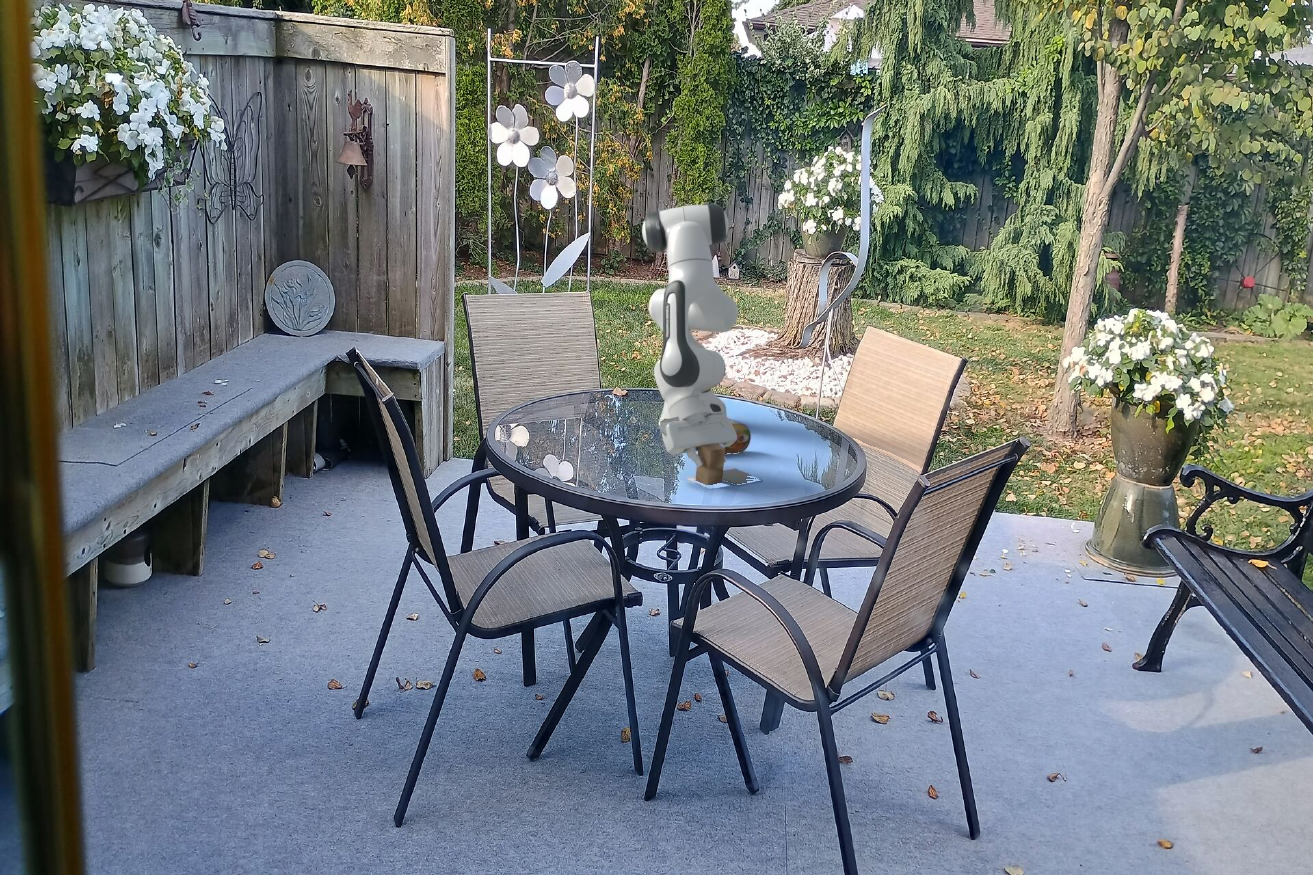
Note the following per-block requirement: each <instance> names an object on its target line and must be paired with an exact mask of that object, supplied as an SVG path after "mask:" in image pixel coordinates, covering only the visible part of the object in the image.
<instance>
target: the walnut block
mask: <svg viewBox="0 0 1313 875" xmlns="http://www.w3.org/2000/svg"><path fill="white" fill-rule="evenodd" d="M697 455H698V456H699V457H700V458H703V459H704V462H705V465H704V466H703V467H697V466H696V469H695V470H696V471H695V477H696V480H695V481H698V482H700V483H703V484H705V485H713V484H717V483H722V482H723V480H722V478H723V470H724V465H725V463H724V457H725V458H726V456H725V448H723V447H721V446H718V445H716V444H711V445H705V446H700V447H698V451H697Z"/></svg>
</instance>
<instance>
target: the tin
mask: <svg viewBox="0 0 1313 875" xmlns="http://www.w3.org/2000/svg"><path fill="white" fill-rule="evenodd" d="M731 424H732V425H733V427H734V430H735V432H736V434H737V440H736V441H735V442H734V443H733V444H732V445H731V446H729V447H725V454H727V453H738V452H742V453H743V452H745V451H746V450H747V449H748V447H749V446H750V443H751V438H752V437H751V436H752V435H751V431H750V429H749V427H748V425H747V426H746V424H743V423H740V422H735V421H733V422H732V423H731Z"/></svg>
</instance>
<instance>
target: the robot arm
mask: <svg viewBox="0 0 1313 875" xmlns="http://www.w3.org/2000/svg"><path fill="white" fill-rule="evenodd" d="M729 226H730V225H729V219H728V216H727V214H726V212H725V210H724V208H723V207H722V206H721V205H720V204H715V203H707V204H693V205H692V204H691V205H689V204H688V205H682V206H678V207H672V208H668V209H663V210H655V211H652V212H649V213H647V214H646V216H645V217H644V221H643V222H642V227H641V233H642V235H641V236H642V238H643V241H644V243H645V245H646V246H647V248H648V249H649V250H650V251H652V252H656V253H663V252H666V260H667V261H666V262H667V269H668V282H667V283H668V284H667V286H666V287H665V288H658V289H656V290H655V291H654V292H652V293H653V294H652V295H651V297H650V299H649V302H648V313H649V317H651V319H652V321H653V322H654V323H656V325H657V326H658V327H659V328H660V330H661V331H662V349H661V352H660V353H661V355H660V357H659V358H660V359H659V360H658V361H657V362H656V363H655V365H654V368H653V374H654V380H655V383H656V385H657V386H656V387H657V388H658V390H659V393H660V395H661V398H662V400H664V402H663V408H662V411H661V414H660V417H659V420H658V428H659V430H660V433H661V435H662V436H661V437H662V440H663V443H664V447H665V450H666V451H667V453H668V454H670V455H671V456H673V455H675V456H676V455H682V454H686V455H687V457H688V459H690V460H691V461H692V462H694V464H695V467H696V468H697V467H703V466H704V465H705V462H704V459H703V458H700V457H699V456H698V453H696V452H698V447H700V446H705V445H711V444H716V445H718V446H721V447H723V448H725V447H729V446H731V445H732V444H733V443H734V442H735V441H736V440H737V434H736V432H735V430H734V427H733V425H732V424H731V423H732V422H734V421H733V420H732V419H731V418H729V417H728V416H727V415H728V414H727V407H726V404H725V402H724V401H723V400H722V399H721V398H720V397H718V396H717V395H716V394H715V393H714V392H713V391H712V389H714V388H715V387H717V386H718V385H720V384H721V383H722V382H723V379H724V378H725V374H726V362H725V360H724V358H723V356H722V355H721V354H720V353H719V352H718V351H716V350H712V349H707V348H706V347H705V346H704V344H702V343H701V342H699V341H698V340H696V338H695V337H694V335H693V333H692V330H693V331H699V332H705V333H706V332H707V333H708V332H709V333H721V332H722V333H724V332H729V331H730V330H731V329H732V328H733V327H734V326H735V324H736V322H737V320H738V315H739V311H738V306H737V303H736V302H735V300H734V299H733V298H732V297H731V296H729V295H728V294H727V293H726V292H725V291H723V289H721V288H720V286H719V285H718V284H717V282H716V281H715V279H714V277H715V275H714V264H713V257H712V252H711V247H710V246H716V245H719V244H721V243H724V241H725V240H726V238H727V234H728V231H729ZM726 462H727V458H726V456H725V457H724V464H725V463H726Z"/></svg>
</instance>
